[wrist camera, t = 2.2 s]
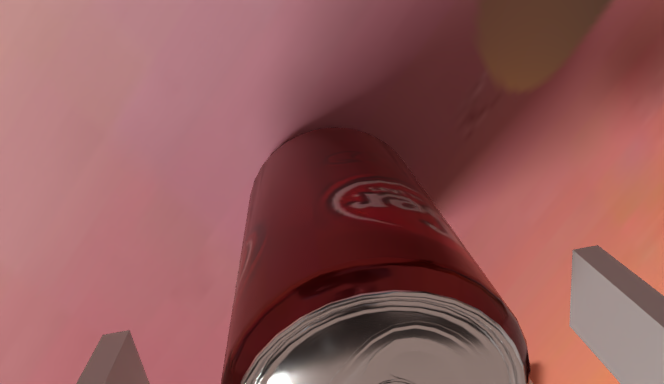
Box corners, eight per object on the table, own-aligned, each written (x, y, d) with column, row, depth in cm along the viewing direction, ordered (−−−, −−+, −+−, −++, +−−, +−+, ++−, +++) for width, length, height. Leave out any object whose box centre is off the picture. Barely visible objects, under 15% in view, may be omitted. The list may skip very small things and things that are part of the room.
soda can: (359, 89, 20) (454, 209, 9) (439, 220, 23) (589, 437, 12) (216, 182, 21) (143, 396, 10) (309, 297, 24) (333, 566, 13)
